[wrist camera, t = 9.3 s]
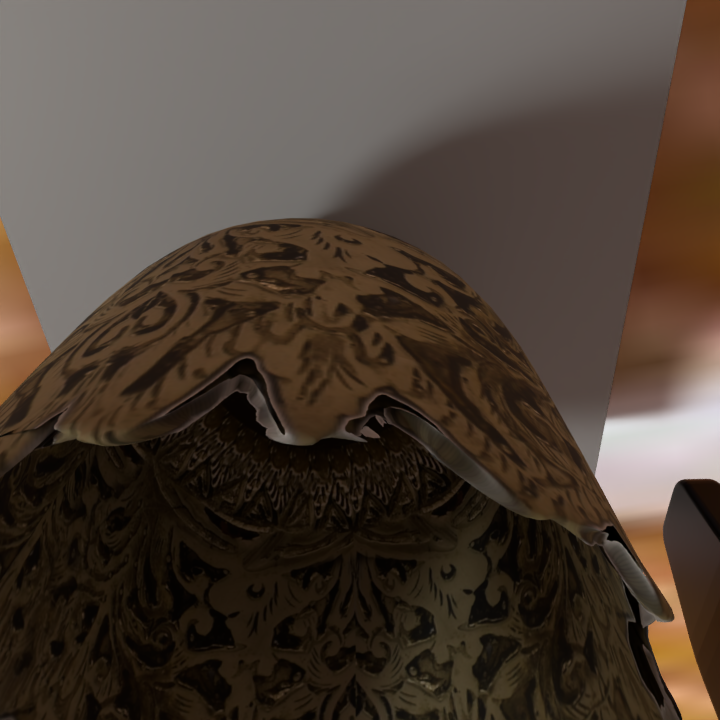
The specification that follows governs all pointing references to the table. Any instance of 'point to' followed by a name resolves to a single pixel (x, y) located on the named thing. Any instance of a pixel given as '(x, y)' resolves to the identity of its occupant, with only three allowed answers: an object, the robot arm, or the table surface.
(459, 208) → the plinth
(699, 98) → the table surface
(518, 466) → the ornate bronze lamp shade
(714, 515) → the robot arm
